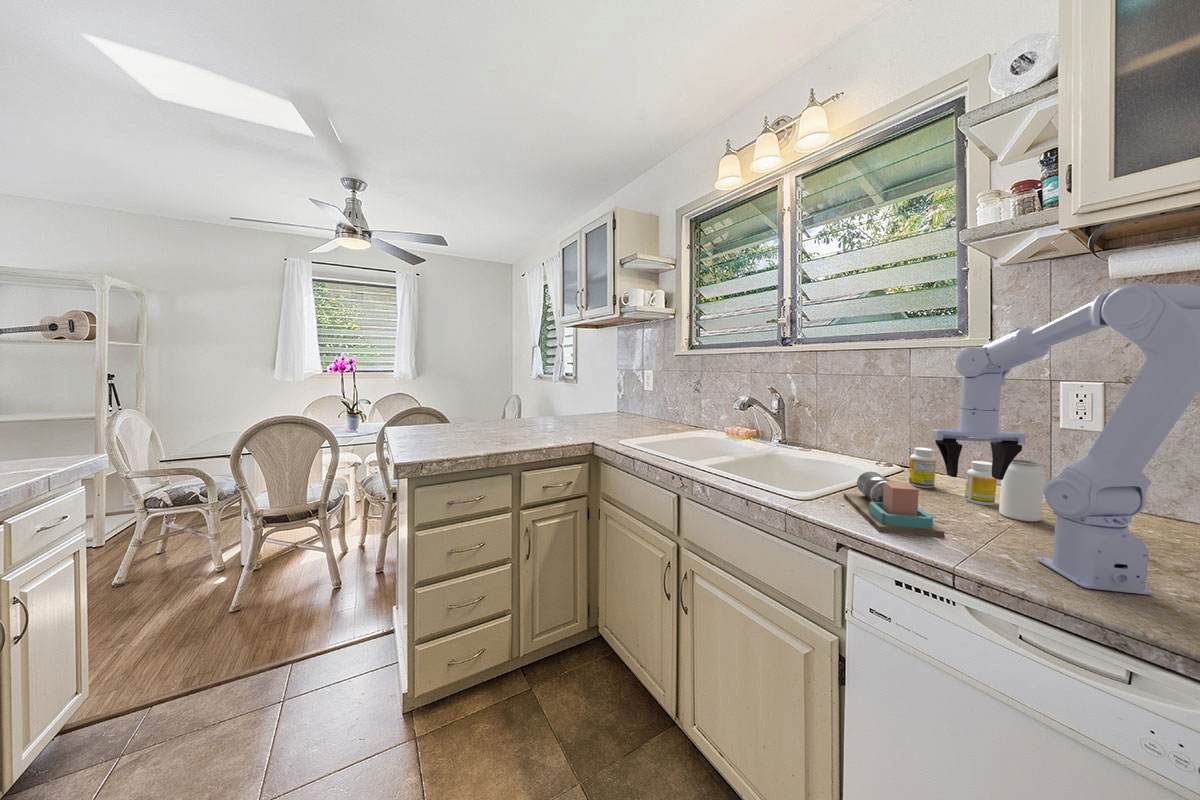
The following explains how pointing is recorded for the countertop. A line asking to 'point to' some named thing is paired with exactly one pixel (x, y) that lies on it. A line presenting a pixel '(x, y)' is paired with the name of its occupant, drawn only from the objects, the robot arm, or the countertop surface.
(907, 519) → the teal square tray
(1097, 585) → the robot arm
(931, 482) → the supplement bottle
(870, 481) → the motor
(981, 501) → the supplement bottle
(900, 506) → the block
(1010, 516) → the can
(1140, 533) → the countertop surface
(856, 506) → the base plate
